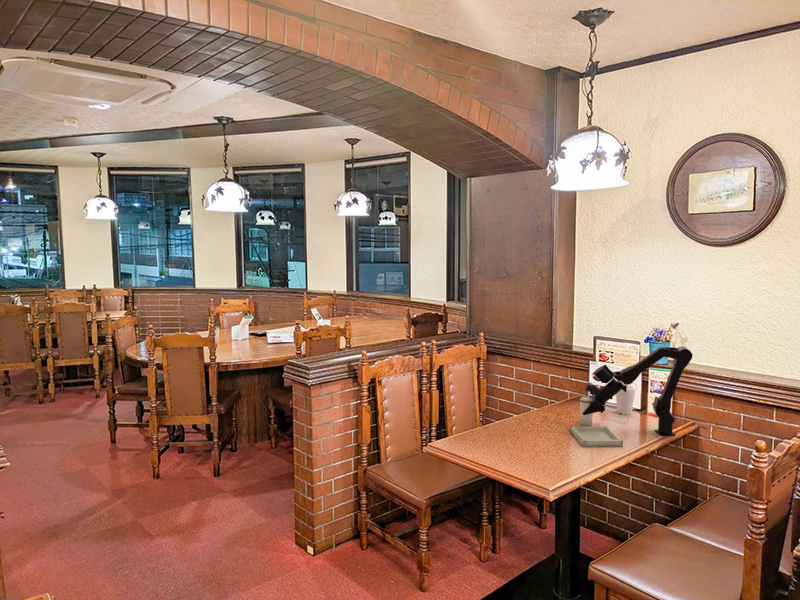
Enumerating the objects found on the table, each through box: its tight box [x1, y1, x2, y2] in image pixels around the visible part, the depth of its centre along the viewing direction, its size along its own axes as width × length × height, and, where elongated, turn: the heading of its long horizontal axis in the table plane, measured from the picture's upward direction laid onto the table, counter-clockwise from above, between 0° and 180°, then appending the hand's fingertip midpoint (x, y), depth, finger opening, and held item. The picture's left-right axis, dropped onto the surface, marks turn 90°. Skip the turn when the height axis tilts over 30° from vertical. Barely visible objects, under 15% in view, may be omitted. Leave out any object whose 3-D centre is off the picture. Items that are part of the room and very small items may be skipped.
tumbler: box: [578, 396, 594, 427], centre depth 255 cm, size 6×6×13 cm
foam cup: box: [615, 384, 637, 415], centre depth 276 cm, size 10×9×13 cm
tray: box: [570, 426, 624, 448], centre depth 240 cm, size 18×16×2 cm
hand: (582, 412), depth 256 cm, fingers closed on tumbler, 6 cm apart
